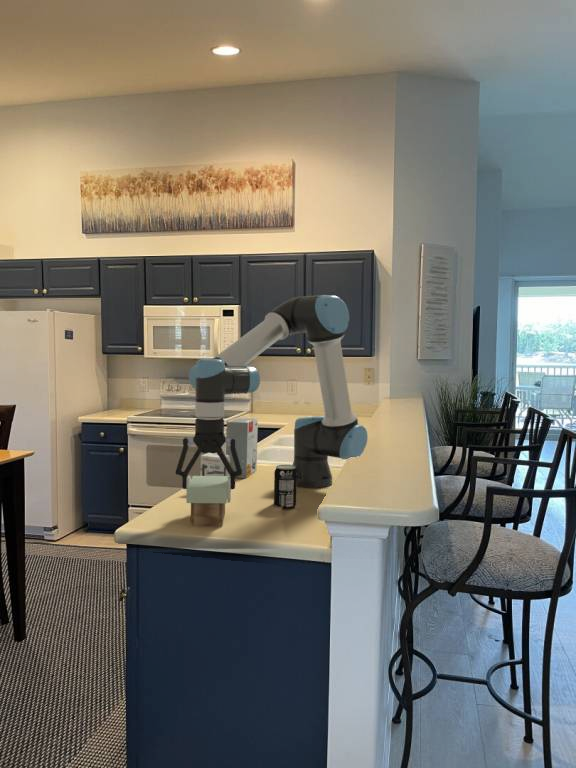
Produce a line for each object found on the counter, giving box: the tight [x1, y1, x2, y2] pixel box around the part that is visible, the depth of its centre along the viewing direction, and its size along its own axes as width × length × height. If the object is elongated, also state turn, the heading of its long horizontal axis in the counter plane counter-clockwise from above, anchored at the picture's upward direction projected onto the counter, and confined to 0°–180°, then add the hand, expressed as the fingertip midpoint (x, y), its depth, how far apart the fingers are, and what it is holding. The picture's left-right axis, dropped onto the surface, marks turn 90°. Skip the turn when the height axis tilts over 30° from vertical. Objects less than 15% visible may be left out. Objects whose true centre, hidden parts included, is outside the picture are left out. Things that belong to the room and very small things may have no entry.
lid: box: [186, 475, 228, 504], centre depth 165 cm, size 10×14×5 cm
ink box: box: [199, 453, 230, 476], centre depth 201 cm, size 9×5×12 cm, turn 62°
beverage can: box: [273, 464, 298, 510], centre depth 183 cm, size 7×7×12 cm
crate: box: [190, 503, 226, 528], centre depth 166 cm, size 8×13×7 cm, turn 3°
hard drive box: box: [226, 417, 259, 479], centre depth 228 cm, size 16×8×20 cm, turn 168°
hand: (208, 501), depth 165 cm, fingers closed on lid, 10 cm apart
